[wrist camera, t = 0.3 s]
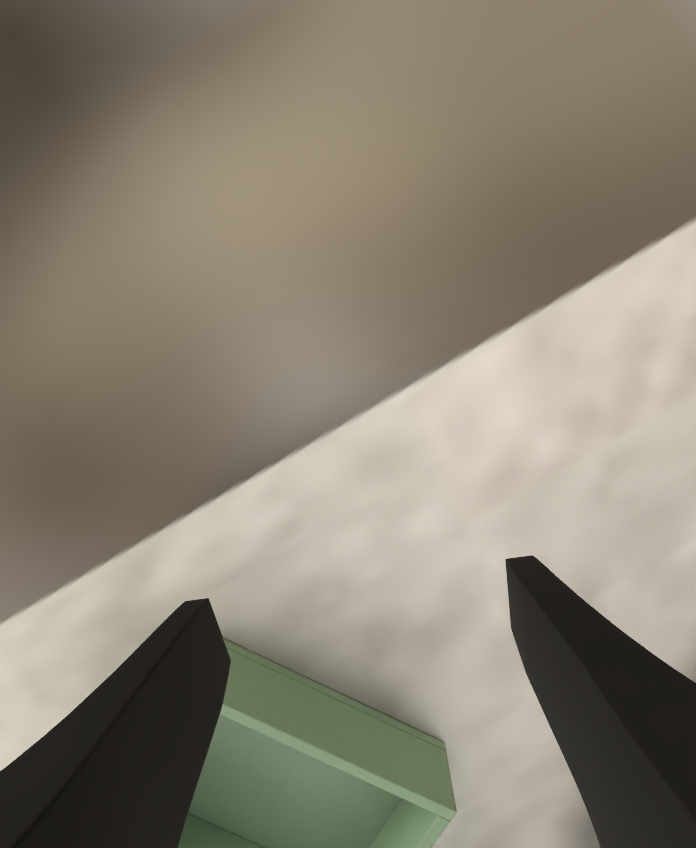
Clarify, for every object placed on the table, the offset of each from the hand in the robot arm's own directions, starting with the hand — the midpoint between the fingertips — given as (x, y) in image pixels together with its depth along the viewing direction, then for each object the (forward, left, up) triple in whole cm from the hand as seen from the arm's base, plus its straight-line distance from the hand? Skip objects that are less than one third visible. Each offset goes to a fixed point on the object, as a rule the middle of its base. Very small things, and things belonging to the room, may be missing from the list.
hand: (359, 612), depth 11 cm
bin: (-17, -4, -10) cm, 20 cm away
